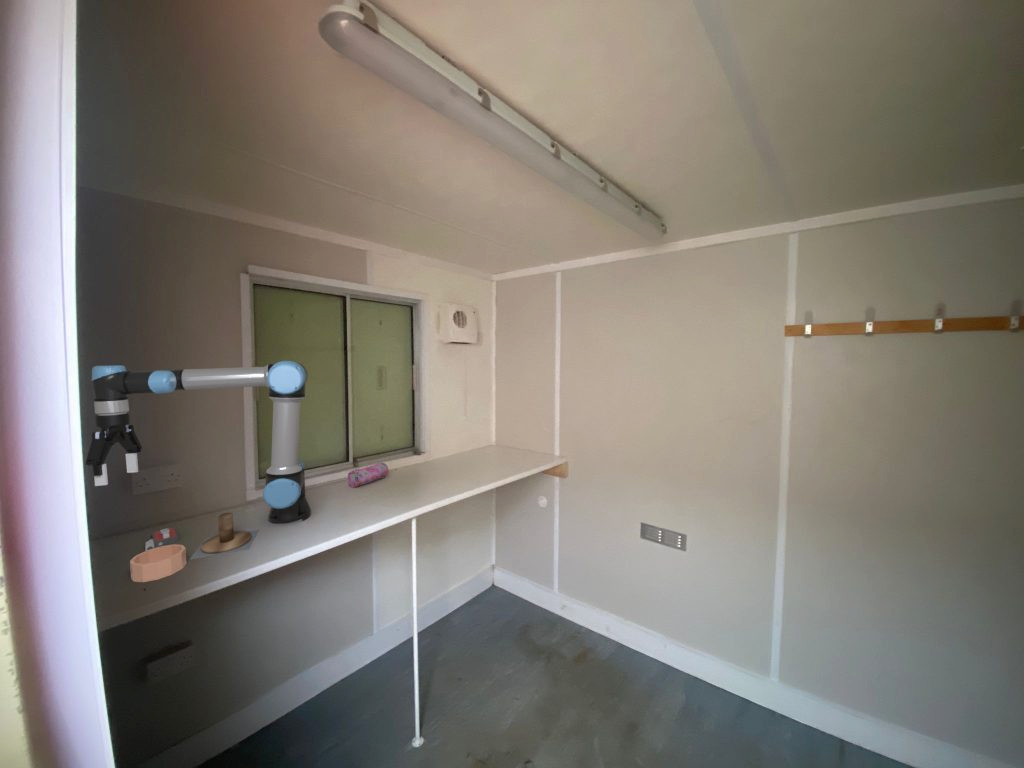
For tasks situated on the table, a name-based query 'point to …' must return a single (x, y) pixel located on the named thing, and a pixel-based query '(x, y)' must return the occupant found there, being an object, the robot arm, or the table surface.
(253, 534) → the slate mat
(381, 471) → the pencil case
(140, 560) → the terracotta bowl
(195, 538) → the table surface
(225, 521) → the walnut lid
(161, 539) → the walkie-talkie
